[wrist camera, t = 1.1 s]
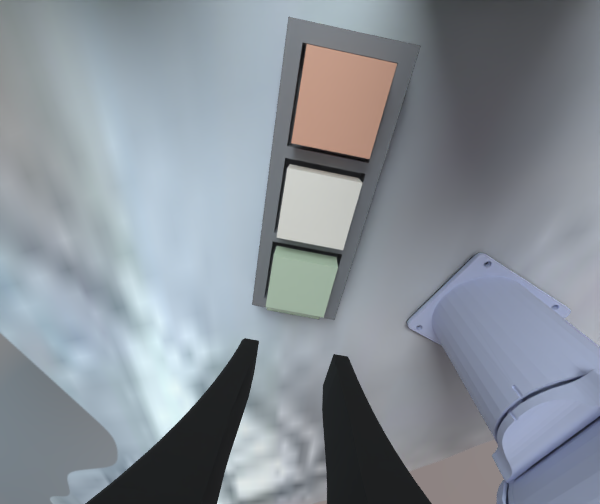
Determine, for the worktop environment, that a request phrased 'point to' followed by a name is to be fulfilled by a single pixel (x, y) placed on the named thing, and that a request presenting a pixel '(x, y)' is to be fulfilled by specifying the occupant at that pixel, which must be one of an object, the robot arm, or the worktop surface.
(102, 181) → the worktop surface
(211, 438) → the robot arm
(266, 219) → the key panel
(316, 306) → the sage key
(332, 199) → the cream key
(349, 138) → the terracotta key
